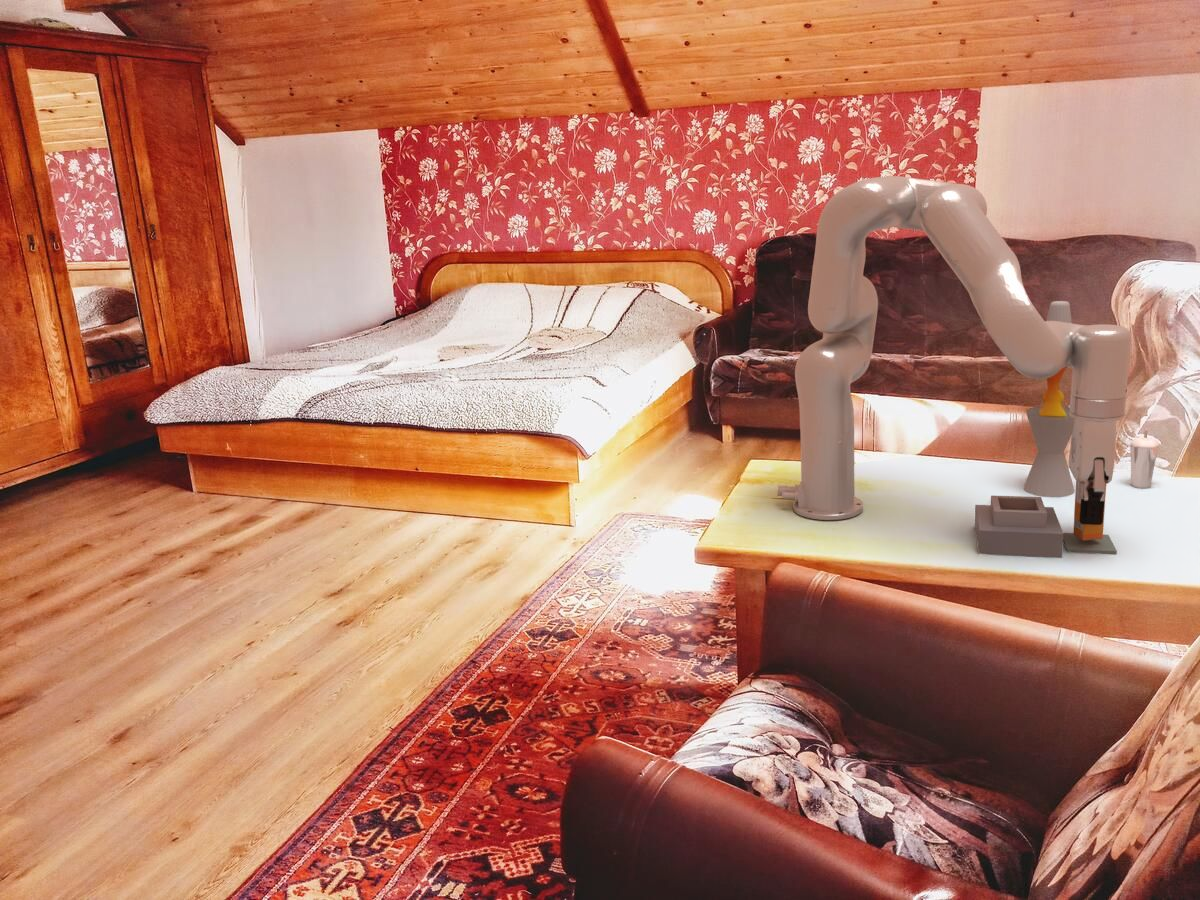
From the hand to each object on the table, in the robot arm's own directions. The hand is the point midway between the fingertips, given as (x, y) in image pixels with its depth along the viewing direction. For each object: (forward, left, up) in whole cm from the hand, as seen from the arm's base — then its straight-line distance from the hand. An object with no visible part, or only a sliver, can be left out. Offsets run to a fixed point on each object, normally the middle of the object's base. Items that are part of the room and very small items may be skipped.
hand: (1088, 517), depth 147 cm
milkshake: (+14, +31, -5) cm, 34 cm away
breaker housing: (-10, 0, -5) cm, 11 cm away
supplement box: (0, 0, -3) cm, 3 cm away
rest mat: (0, 0, -5) cm, 5 cm away
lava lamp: (-2, +27, -5) cm, 27 cm away
